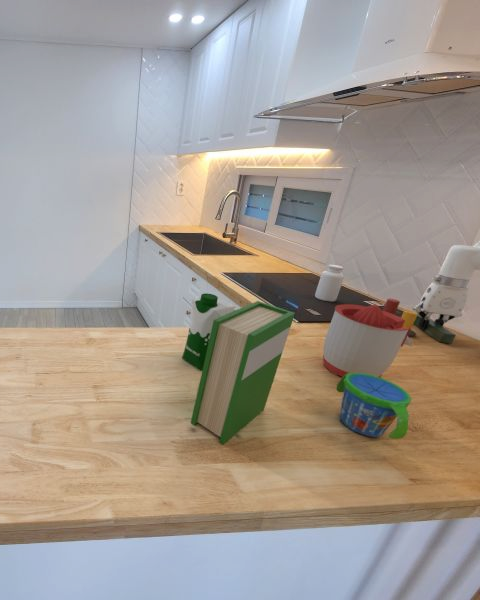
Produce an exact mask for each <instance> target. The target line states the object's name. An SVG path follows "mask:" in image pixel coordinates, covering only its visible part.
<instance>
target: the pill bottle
mask: <svg viewBox="0 0 480 600" xmlns="http://www.w3.org/2000/svg"><path fill="white" fill-rule="evenodd" d="M343 270H344V266H342V265H337V264H328V265H327V269H326V270H324V271H322V272H321V274H320V278H319V281H318V283H317V287H316V290H315V294H314V297H315V298H316V299H317V300H320V301H324V302H336V301H337V299H338V296H339V293H340V290H341V287H342V284H343V282H344V278H345V274H344V273H342V272H343Z"/></svg>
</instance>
